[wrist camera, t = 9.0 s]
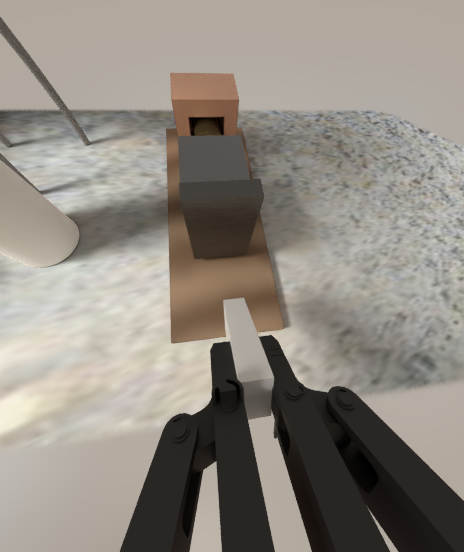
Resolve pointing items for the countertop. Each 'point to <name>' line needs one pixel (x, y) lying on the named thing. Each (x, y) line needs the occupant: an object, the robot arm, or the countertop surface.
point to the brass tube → (219, 208)
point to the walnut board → (214, 273)
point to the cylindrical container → (32, 224)
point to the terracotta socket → (204, 100)
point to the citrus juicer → (19, 49)
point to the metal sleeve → (212, 158)
